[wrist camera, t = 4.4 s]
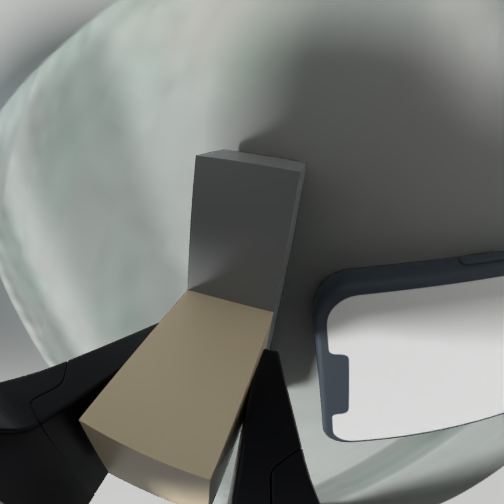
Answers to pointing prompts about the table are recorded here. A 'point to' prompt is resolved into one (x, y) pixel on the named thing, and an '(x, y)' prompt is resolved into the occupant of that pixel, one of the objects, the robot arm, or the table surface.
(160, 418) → the scraper
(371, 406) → the smartphone
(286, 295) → the table surface
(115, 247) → the table surface
